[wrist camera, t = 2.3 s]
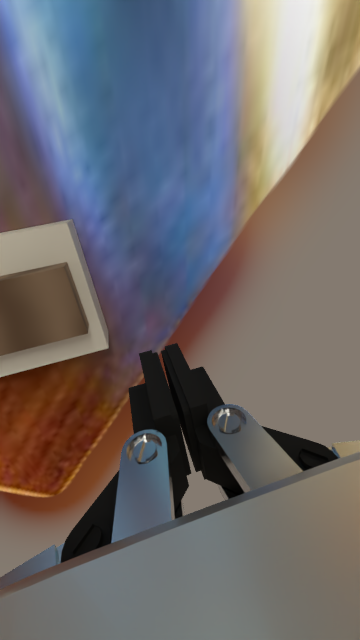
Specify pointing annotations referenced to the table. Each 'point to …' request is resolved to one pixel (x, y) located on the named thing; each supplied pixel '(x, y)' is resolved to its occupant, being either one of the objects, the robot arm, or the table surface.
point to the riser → (64, 246)
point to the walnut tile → (39, 308)
